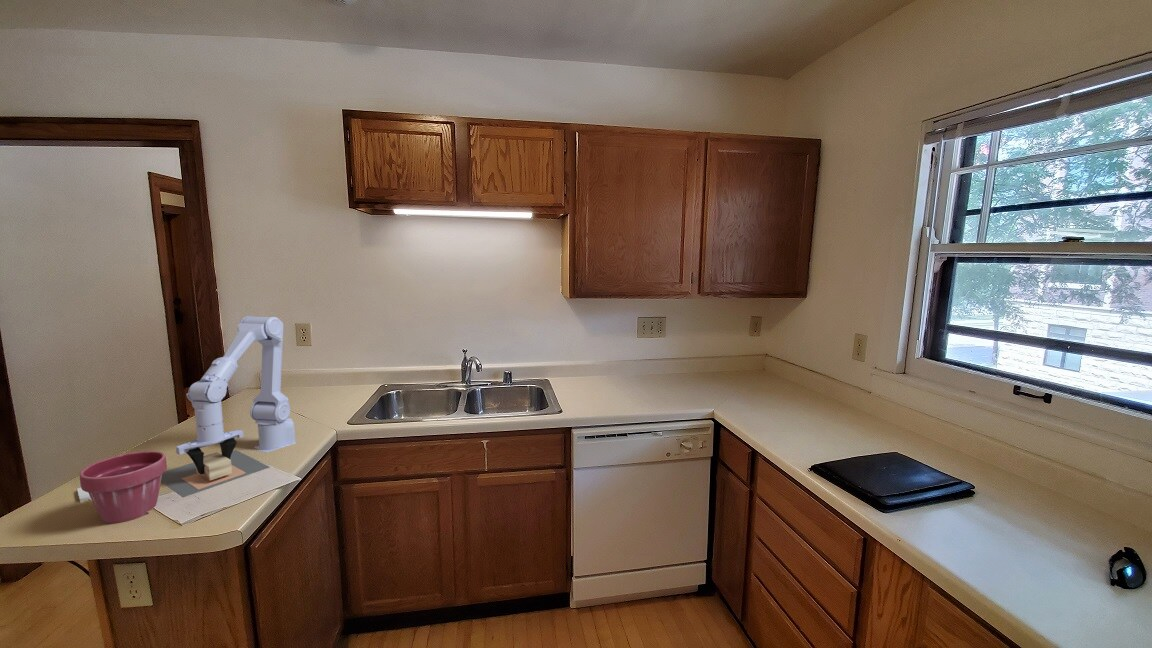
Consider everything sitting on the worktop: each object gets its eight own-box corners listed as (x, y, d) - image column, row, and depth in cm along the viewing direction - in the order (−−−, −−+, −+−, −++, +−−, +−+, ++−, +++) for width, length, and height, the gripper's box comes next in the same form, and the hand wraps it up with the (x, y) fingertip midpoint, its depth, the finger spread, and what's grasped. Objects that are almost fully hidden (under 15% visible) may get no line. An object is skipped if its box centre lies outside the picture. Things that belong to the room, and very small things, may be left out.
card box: (232, 473, 120) (230, 459, 119) (210, 480, 116) (208, 466, 115) (217, 465, 124) (216, 452, 124) (196, 472, 120) (194, 458, 119)
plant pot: (149, 524, 98) (143, 472, 97) (68, 535, 94) (60, 481, 92) (182, 493, 112) (177, 447, 110) (112, 502, 107) (106, 454, 105)
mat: (236, 451, 137) (236, 449, 137) (270, 468, 126) (270, 466, 126) (152, 477, 120) (151, 474, 120) (183, 499, 109) (183, 496, 109)
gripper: (234, 413, 126) (237, 456, 128) (169, 428, 114) (174, 475, 116) (245, 417, 123) (248, 462, 125) (180, 433, 110) (185, 482, 112)
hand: (213, 469), depth 120 cm, fingers closed on card box, 5 cm apart
